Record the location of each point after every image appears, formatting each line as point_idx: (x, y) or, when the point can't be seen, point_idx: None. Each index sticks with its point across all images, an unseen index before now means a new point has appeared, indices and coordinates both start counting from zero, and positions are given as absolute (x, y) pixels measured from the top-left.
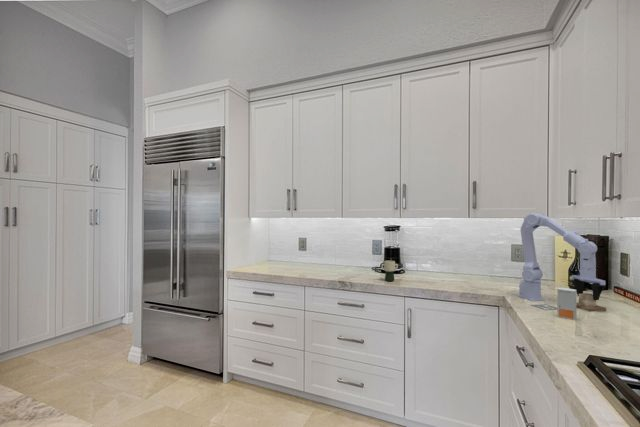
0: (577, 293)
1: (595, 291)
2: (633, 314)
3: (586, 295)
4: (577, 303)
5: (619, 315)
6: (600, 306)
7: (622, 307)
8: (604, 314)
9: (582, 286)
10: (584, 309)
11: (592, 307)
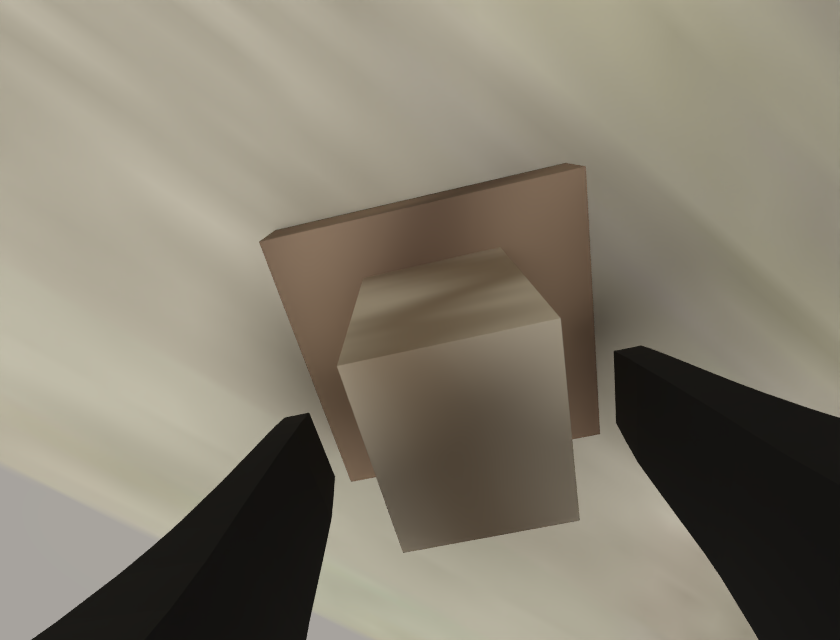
0: (663, 361)
1: (125, 574)
2: None
3: (373, 378)
4: (569, 277)
5: (184, 458)
6: None
7: (495, 636)
8: (186, 339)
9: (771, 625)
10: (344, 217)
11: (338, 332)
